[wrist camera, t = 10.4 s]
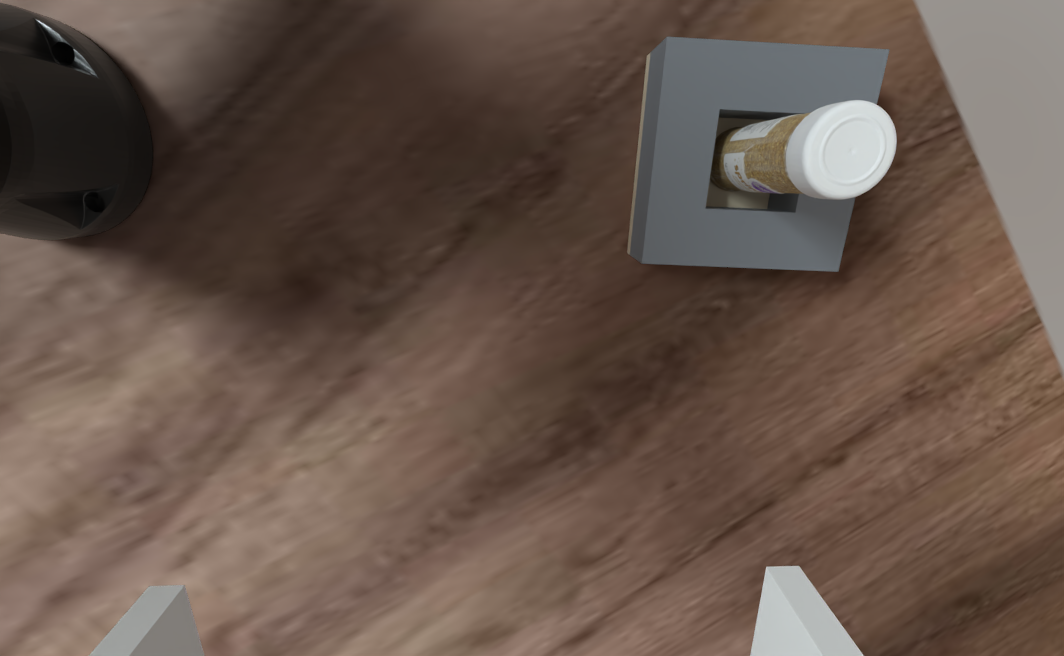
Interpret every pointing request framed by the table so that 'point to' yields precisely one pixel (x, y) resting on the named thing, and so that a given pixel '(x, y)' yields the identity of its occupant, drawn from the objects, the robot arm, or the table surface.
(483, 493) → the table surface
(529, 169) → the table surface
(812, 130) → the sprinkles bottle
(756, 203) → the socket block
